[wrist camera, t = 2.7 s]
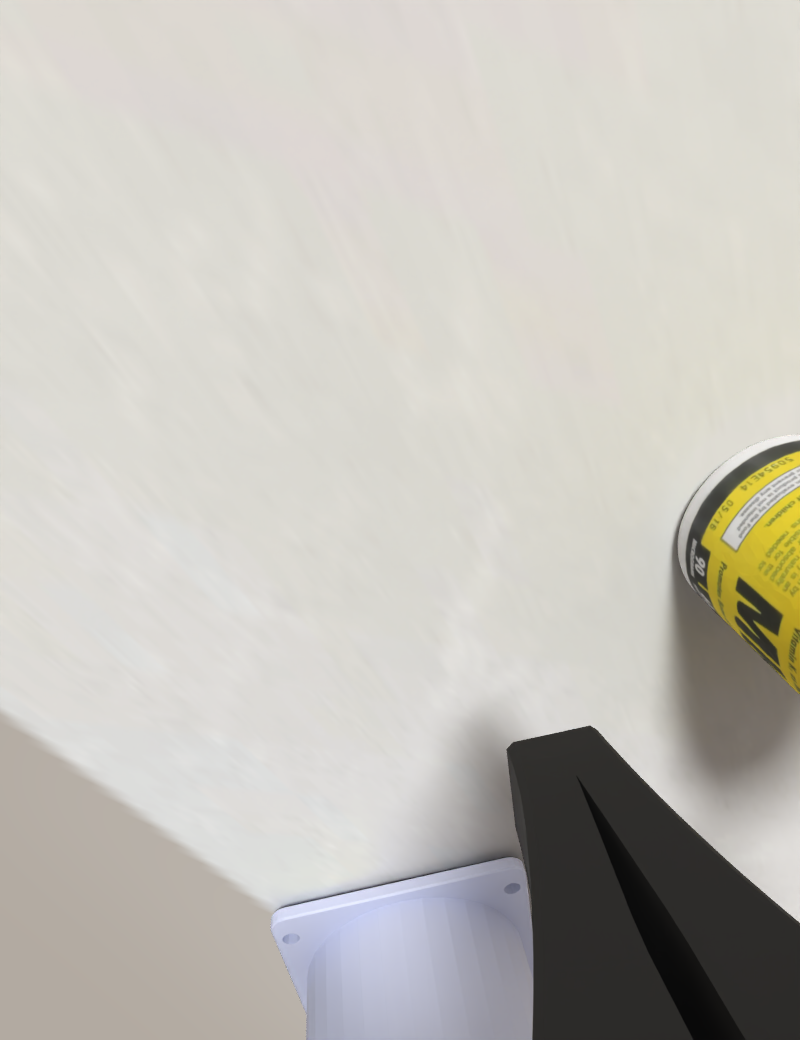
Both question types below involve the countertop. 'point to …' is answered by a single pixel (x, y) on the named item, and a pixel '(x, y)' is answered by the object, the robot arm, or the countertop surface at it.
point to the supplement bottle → (751, 549)
